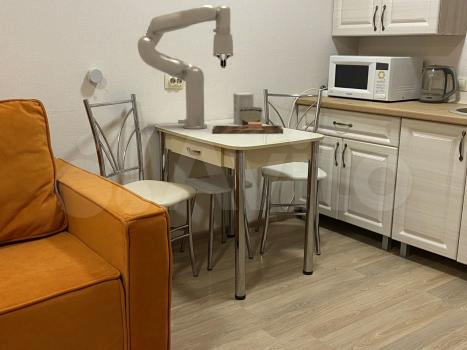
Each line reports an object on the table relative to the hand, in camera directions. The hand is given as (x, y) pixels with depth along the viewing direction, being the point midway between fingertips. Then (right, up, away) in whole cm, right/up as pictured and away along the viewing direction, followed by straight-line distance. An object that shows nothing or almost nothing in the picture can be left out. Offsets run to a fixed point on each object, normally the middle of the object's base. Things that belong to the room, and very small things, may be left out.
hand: (223, 67), depth 269 cm
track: (+12, -34, -8) cm, 37 cm away
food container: (+15, -29, +11) cm, 35 cm away
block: (+16, -34, -7) cm, 38 cm away
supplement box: (+11, -27, +20) cm, 36 cm away
